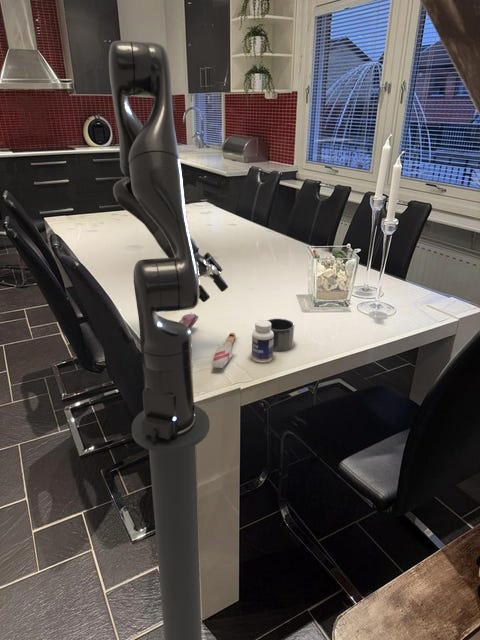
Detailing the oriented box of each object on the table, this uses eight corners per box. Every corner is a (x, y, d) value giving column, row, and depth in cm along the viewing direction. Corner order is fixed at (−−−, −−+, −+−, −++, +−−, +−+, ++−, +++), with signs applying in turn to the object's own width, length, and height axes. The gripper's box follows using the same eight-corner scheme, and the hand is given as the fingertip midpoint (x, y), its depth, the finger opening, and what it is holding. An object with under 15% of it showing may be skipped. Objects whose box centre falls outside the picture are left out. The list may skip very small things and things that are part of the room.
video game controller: (178, 345, 128) (187, 326, 125) (164, 336, 129) (174, 317, 125) (194, 332, 137) (203, 313, 133) (181, 323, 137) (190, 305, 134)
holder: (289, 353, 122) (290, 332, 119) (259, 348, 124) (260, 328, 121) (295, 340, 129) (297, 320, 126) (267, 336, 131) (268, 316, 128)
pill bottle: (247, 360, 118) (248, 324, 114) (257, 351, 122) (258, 317, 118) (267, 365, 116) (268, 329, 112) (276, 356, 120) (277, 321, 116)
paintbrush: (208, 361, 110) (226, 330, 129) (208, 371, 111) (226, 339, 130) (224, 362, 110) (239, 331, 128) (224, 372, 111) (239, 340, 129)
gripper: (166, 238, 106) (210, 295, 105) (200, 227, 117) (240, 278, 117) (149, 258, 110) (191, 312, 110) (184, 245, 122) (222, 294, 121)
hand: (216, 294), depth 113 cm, fingers open, 8 cm apart
